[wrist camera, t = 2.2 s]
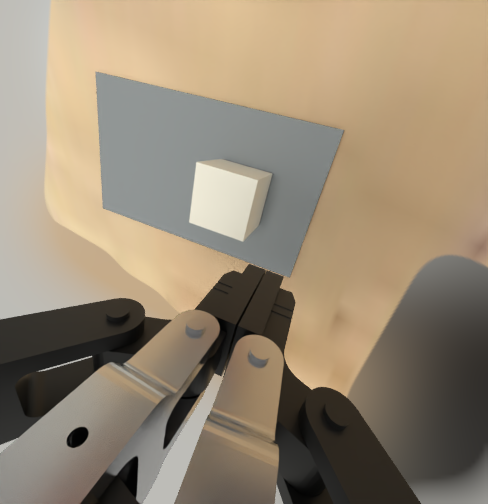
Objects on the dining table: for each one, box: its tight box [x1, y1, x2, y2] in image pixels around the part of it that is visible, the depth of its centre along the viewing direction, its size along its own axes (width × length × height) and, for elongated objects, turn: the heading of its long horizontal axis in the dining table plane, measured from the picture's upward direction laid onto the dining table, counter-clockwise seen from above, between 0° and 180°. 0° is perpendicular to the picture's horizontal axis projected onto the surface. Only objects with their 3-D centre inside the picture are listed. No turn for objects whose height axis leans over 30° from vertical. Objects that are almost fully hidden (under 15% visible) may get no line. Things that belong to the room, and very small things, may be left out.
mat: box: [96, 72, 344, 278], centre depth 25 cm, size 24×14×1 cm, turn 77°
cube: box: [189, 159, 273, 242], centre depth 21 cm, size 5×5×5 cm
